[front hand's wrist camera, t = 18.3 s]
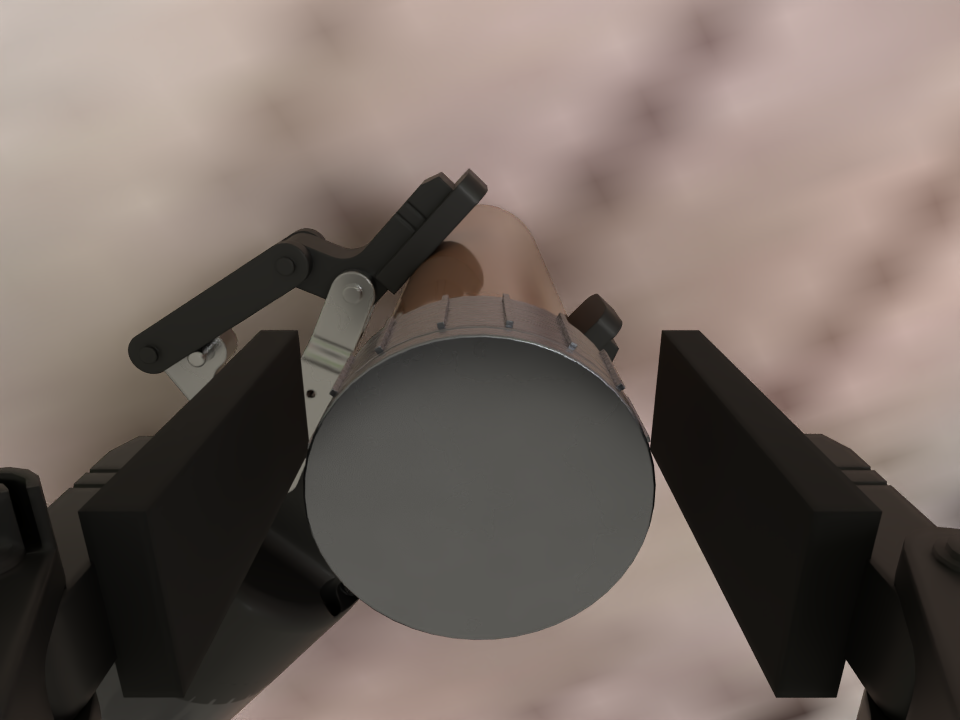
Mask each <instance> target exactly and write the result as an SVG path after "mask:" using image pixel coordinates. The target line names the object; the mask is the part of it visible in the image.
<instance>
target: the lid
mask: <svg viewBox="0 0 960 720" xmlns="http://www.w3.org/2000/svg"><path fill="white" fill-rule="evenodd" d="M623 389H625V386H624V384H623V382H622V380H621V378H620V377H619V375H618V373H617V371H616V369H615V367H614V365H613V363H612V362H611V360H610V358H609V356H608V354H607V352H606V351H605V350H604V349H603V350H601V351H599V350H598V349H597V348H596V346H595V345H594V344H593V343H592V342H591V341H590V340H589V339H588V338H587V337H586V336H585V335H584V334H583V333H581V332H580V331H579V330H578V329H577V328H575V327H574V326H572V325H571V324H570V323H568V321H567V319H566V316H565V315H564V314H562V313H559V314H558V316H557V315H555V314H553V313H551V312H549V311H547V310H545V309H543V308H540V307H537V306H535V305H532V304H529V303H526V302H522V301H518V300H514V299H510V296H509V294H504V293H503V296H502V297H494V296H462V297H456V298H450V299H449V295H444V296H442V300H440V301H437V302H433V303H430V304H427V305H423V306H421V307H419V308H416V309H414V310H412V311H410V312H407V313H405V314H403V315H402V316H400V317H398V318H397V319H395V318H394V317H393V316H392V317H390V318H388V320H387V322H386V324H385V326H384V327H383V328H382V329H381V330H380V331H379V332H377V333H376V334H375V335H374V336H372V338H371V339H370V340H369V341H368V342H367V343H366V344H365V345H364V346H363V347H362V348H361V349H360V350H359V352H358V353H357V355H356V356H353V355H350V356H349V358H348V359H347V361H346V363H345V365H344V367H343V368H342V370H341V372H340V374H339V376H338V378H337V380H336V381H335V383H334V385H333V387H332V389H331V391H330V393H329V394H330V395H331V396H333V397H332V399H331V401H330V403H329V404H328V406H327V408H326V410H325V411H324V413H323V415H322V417H321V419H320V421H319V423H318V425H317V427H316V429H315V431H314V432H313V434H312V436H311V438H310V440H309V442H308V445H307V449H308V452H307V456H306V462H305V468H304V475H303V497H304V504H305V511H306V516H307V520H308V523H309V526H310V530H311V533H312V536H313V538H314V540H315V542H316V545H317V547H318V549H319V551H320V553H321V555H322V556H323V558H324V559H325V561H326V562H327V564H328V566H329V567H330V569H331V570H332V571H333V573H334V574H335V575H336V576H337V577H338V578H339V580H340V581H341V582H342V583H343V584H344V585H345V586H346V587H347V588H348V589H349V590H350V591H351V592H352V593H353V594H354V595H355V596H357V597H358V598H359V599H360V600H361V601H363V602H364V603H366V604H367V605H368V606H370V607H371V608H373V609H374V610H375V611H377V612H379V613H381V614H383V615H384V616H386V617H388V618H390V619H392V620H393V621H396V622H398V623H401V624H403V625H405V626H408V627H410V628H413V629H416V630H419V631H423V632H426V633H429V634H433V635H438V636H444V637H449V638H457V639H470V640H487V639H501V638H509V637H516V636H520V635H525V634H529V633H533V632H537V631H540V630H542V629H545V628H548V627H551V626H554V625H556V624H558V623H560V622H562V621H565V620H567V619H569V618H571V617H573V616H575V615H576V614H578V613H579V612H581V611H583V610H584V609H586V608H587V607H589V606H591V605H592V604H593V603H594V602H596V601H597V600H598V599H599V598H601V597H602V596H603V595H604V594H606V593H607V592H608V591H609V590H610V589H611V588H612V587H613V586H614V585H615V584H616V582H617V581H618V580H619V579H620V578H621V577H622V576H623V575H624V573H625V572H626V570H627V569H628V568H629V566H630V565H631V564H632V562H633V561H634V559H635V557H636V555H637V554H638V552H639V550H640V548H641V546H642V544H643V542H644V539H645V537H646V534H647V531H648V529H649V526H650V522H651V518H652V513H653V509H654V502H655V487H656V484H655V472H654V463H653V459H652V455H651V451H650V447H649V444H648V442H650V438H649V435H648V433H647V431H646V430H645V428H644V426H643V424H642V422H641V420H640V418H639V416H638V414H637V412H636V411H635V409H634V407H633V405H632V403H631V401H630V399H629V397H626V395H625V393H624V392H623Z"/></svg>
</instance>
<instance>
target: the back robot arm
mask: <svg viewBox="0 0 960 720" xmlns="http://www.w3.org/2000/svg"><path fill="white" fill-rule="evenodd" d="M487 191H488V190H487V185H486V184H485V183H484V182H483V181H482V180H481V179H480V178H479V177H478V176H476V175H475V174H474V173H473V172H472V171H471V170H470V169H468V170H467V171H466V172H465V173H464V174H463V175H462V176H461V178H460V179H459V180H458V181H457V182H456V183H455V184H454V183H453V182H452V181H451V180H450V179H449V178H448V177H447V176H446V175H445V174H444V173H442V172H441V173H439V174H437V175H434V176H432V177H430V178H428V179H426V180H425V181H424V182H423V183H422V184H421V185H420V186H419V187H418V188H417V190H416V191H415V192H414V193H413V194H412V195H411V196H410V198H409V199H408V200H407V201H406V202H405V203H404V204H403V206H402V207H401V208H400V209H399V210H398V211H397V212H396V213H395V215H394V216H393V217H392V218H391V219H390V220H389V221H388V223H387V224H386V225H385V226H384V227H383V228H382V229H381V231H380V232H379V233H378V234H377V235H376V236H375V237H374V238H373V240H372V241H371V242H370V243H368V244H367V245H366V246H363V247H361V248H357V249H348V248H344V247H341V246H338V245H336V244H333V243H331V242H329V241H326V240H325V238H324V237H323V236H322V235H321V234H320V233H319V232H317V231H315V230H313V229H308V228H304V229H300V230H298V231H296V232H294V233H293V234H291V235H290V236H288V237H287V238H285V239H283V240H282V241H280V242H279V243H277V244H275V245H274V246H272V247H271V248H269V249H268V250H266V251H265V252H263V253H262V254H260V255H259V256H257V257H255V258H254V259H252V260H251V261H249V262H248V263H246V264H245V265H243V266H242V267H240V268H239V269H237V270H236V271H234V272H233V273H231V274H230V275H228V276H227V277H225V278H224V279H222V280H221V281H219V282H217V283H216V284H214V285H213V286H211V287H210V288H208V289H207V290H205V291H204V292H202V293H201V294H199V295H198V296H196V297H195V298H193V299H192V300H190V301H189V302H187V303H186V304H184V305H183V306H181V307H179V308H178V309H176V310H175V311H173V312H172V313H170V314H169V315H167V316H166V317H164V318H163V319H161V320H160V321H158V322H157V323H155V324H154V325H152V326H151V327H149V328H148V329H146V330H144V331H143V332H141V333H140V334H138V335H137V336H135V337H134V338H133V339H132V340H131V342H130V344H129V347H128V353H129V357H130V359H131V361H132V363H133V364H134V365H135V366H136V367H137V368H138V369H140V370H141V371H143V372H146V373H150V374H157V373H161V372H163V371H165V372H166V374H167V375H168V376H169V377H170V378H171V379H172V381H173V382H174V383H175V384H176V385H177V387H178V388H179V389H180V390H181V391H182V393H183V394H184V395H185V396H186V397H187V399H188V400H189V401H190V400H191V399H192V398H193V397H194V396H195V395H196V394H197V393H198V392H199V391H200V390H201V389H202V388H203V387H204V386H205V385H206V384H207V383H208V382H209V381H210V380H211V379H212V378H213V377H214V376H215V375H216V374H217V373H218V372H219V371H220V370H221V369H222V368H223V367H224V366H225V364H226V361H227V360H228V359H229V358H230V357H231V356H232V355H233V354H234V352H235V351H236V349H237V337H236V335H235V333H234V332H233V330H232V329H231V328H232V327H234V326H236V325H237V324H239V323H240V322H242V321H243V320H245V319H247V318H248V317H250V316H251V315H253V314H254V313H256V312H257V311H259V310H261V309H262V308H264V307H265V306H267V305H268V304H270V303H272V302H273V301H275V300H276V299H278V298H279V297H281V296H283V295H284V294H286V293H287V292H289V291H290V290H292V289H294V288H295V287H297V288H299V289H302V290H304V291H307V292H309V293H312V294H314V295H317V296H319V297H322V298H324V299H326V301H325V303H324V306H323V309H322V311H321V314H320V316H319V319H318V321H317V324H316V327H315V329H314V332H313V334H312V337H311V339H310V341H309V343H308V345H307V347H306V349H305V351H304V353H303V355H302V357H301V365H302V375H303V385H304V395H305V405H306V415H307V425H308V435H309V440H310V438H311V436H312V434H313V432H314V431H315V429H316V427H317V425H318V423H319V421H320V419H321V417H322V415H323V413H324V411H325V410H326V408H327V406H328V404H329V403H330V401H331V399H332V397H333V396H331V395H330V394H329V393H330V391H331V389H332V387H333V385H334V383H335V381H336V380H337V378H338V376H339V374H340V372H341V370H342V368H343V367H344V365H345V363H346V361H347V359H348V358H349V356H350V355H353V356H355V355H356V352H357V350H358V347H359V345H360V343H361V340H362V338H363V335H364V333H365V330H366V327H367V325H368V322H369V320H370V317H371V315H372V313H373V310H374V308H375V305H376V303H377V301H378V300H379V299H380V298H381V297H382V296H383V295H384V294H385V292H386V291H387V290H390V291H391V292H392V293H393V294H395V293H396V292H397V291H398V290H399V289H400V288H401V287H402V285H403V284H404V283H405V282H406V281H407V280H408V279H409V278H410V277H411V276H412V274H413V273H414V272H415V271H416V270H417V269H418V268H419V267H420V265H421V264H422V263H424V261H425V260H426V259H427V258H428V257H429V256H430V255H431V254H432V253H433V252H434V251H435V249H436V248H437V247H438V246H439V245H440V244H441V243H442V242H443V241H444V240H445V239H446V237H447V236H448V235H449V234H450V233H451V232H452V231H453V230H454V229H455V228H456V227H457V226H458V224H459V223H460V222H461V221H462V220H463V219H464V218H465V217H466V216H467V215H468V214H469V212H470V211H471V210H472V209H473V208H474V207H475V206H476V205H477V204H478V203H479V201H480V200H481V199H482V198H483V197H484V195H485V194H486V193H487ZM568 319H569V321H570V323H571V325H572V326H574V327H575V328H577V329H578V330H579V331H580V332H581V333H583V334H584V335H585V336H586V337H587V338H588V339H589V340H590V341H591V342H592V343H593V344H594V345H595V346H596V348H597V349H598V350H599V351H601V350H603V349H604V350H605V351H606V352H607V354H608V356H609V358H610V360H611V362H612V361H613V359H614V357H615V355H616V353H617V351H618V349H619V348H618V346H617V345H616V343H615V341H614V339H613V338H614V337H615V336H616V335H617V333H618V332H619V331H620V329H621V327H622V321H621V319H620V318H619V316H618V315H617V314H616V312H615V311H614V309H613V308H612V307H611V306H610V305H609V304H607V303H606V302H605V301H604V300H603V299H602V298H601V297H600V296H599V295H598V294H594V295H592V296H590V297H589V298H588V299H586V300H585V301H584V302H583V303H582V304H581V305H580V306H579V307H578V308H577V309H576V310H575V311H574V312H573V313H572V314H571V315H570V316H569V317H568ZM305 462H306V458H305V460H304V462H303V464H302V466H301V468H300V470H299V472H298V474H297V476H296V478H295V480H294V482H293V484H292V486H291V488H290V490H289V491H288V493H287V495H286V497H285V499H284V501H283V503H282V505H281V507H280V509H279V511H278V513H277V515H276V517H275V519H274V521H273V523H272V525H271V527H270V529H269V531H268V533H267V535H266V537H265V539H264V541H263V543H262V545H261V547H260V549H259V551H258V553H257V555H256V557H255V558H254V560H253V562H252V564H251V566H250V568H249V570H248V572H247V574H246V576H245V578H244V580H243V582H242V584H241V586H240V588H239V590H238V592H237V594H236V596H235V598H234V600H233V602H232V604H231V606H230V608H229V610H228V612H227V614H226V616H225V618H224V620H223V622H222V624H221V625H220V627H219V629H218V631H217V633H216V635H215V637H214V639H213V641H212V643H211V645H210V647H209V649H208V651H207V653H206V655H205V657H204V659H203V661H202V663H201V665H200V667H199V669H198V671H197V673H196V675H195V677H194V679H193V681H192V683H191V685H190V687H189V689H188V691H187V692H186V694H185V696H184V698H124V697H123V693H122V689H121V685H120V681H119V677H118V673H117V669H116V665H115V662H114V664H113V665H112V667H111V668H110V670H109V671H108V673H107V674H106V676H105V677H104V679H103V680H102V682H101V683H100V685H99V686H98V688H97V689H96V693H97V697H98V701H99V704H100V710H101V718H102V720H231V719H232V718H233V717H234V716H235V715H236V714H237V713H238V712H239V711H241V710H242V709H243V708H244V707H245V706H246V705H247V704H248V703H249V702H250V701H251V700H252V699H254V698H255V697H256V696H257V695H258V694H259V693H260V692H261V691H262V690H263V689H264V688H265V687H267V686H268V685H269V684H270V683H271V682H272V681H273V680H274V679H275V678H277V677H278V676H279V675H280V674H281V673H282V672H283V671H284V670H285V669H286V668H287V667H288V666H289V665H290V664H292V663H293V662H294V661H295V660H296V659H297V658H298V657H299V656H300V655H301V654H302V653H303V652H305V651H306V650H307V649H308V648H309V647H310V646H311V645H312V644H313V643H314V642H315V641H316V640H318V639H319V638H320V637H321V636H322V635H323V634H324V633H325V632H326V631H327V630H328V629H329V628H331V627H332V626H333V625H334V624H335V623H336V622H337V621H338V620H339V619H340V618H341V617H342V616H343V615H345V614H346V613H347V612H348V610H349V609H350V608H351V607H352V606H353V605H354V604H355V603H356V602H357V601H358V600H359V598H358V597H357V596H355V595H354V594H353V593H352V592H351V591H350V590H349V589H348V588H347V587H346V586H345V585H344V584H343V583H342V582H341V581H340V580H339V578H338V577H337V576H336V575H335V574H334V573H333V571H332V570H331V569H330V567H329V566H328V564H327V562H326V561H325V559H324V558H323V556H322V555H321V553H320V551H319V549H318V547H317V545H316V542H315V540H314V538H313V536H312V533H311V530H310V526H309V523H308V520H307V516H306V511H305V504H304V497H303V475H304V468H305Z"/></svg>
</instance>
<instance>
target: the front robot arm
mask: <svg viewBox="0 0 960 720" xmlns="http://www.w3.org/2000/svg"><path fill="white" fill-rule="evenodd" d="M308 442H309V435H308V425H307V415H306V405H305V395H304V385H303V375H302V365H301V355H300V345H299V335H298V330H261V331H260V332H259V333H258V334H257V335H256V336H255V337H254V338H253V339H252V340H251V341H250V342H249V343H248V344H247V345H246V346H245V347H244V348H243V349H242V350H241V351H240V352H239V353H237V354H236V355H235V356H234V357H233V358H232V359H231V360H230V361H229V362H228V363H227V364H226V365H225V366H224V367H223V368H222V369H221V370H220V371H219V372H218V373H217V374H216V375H215V376H214V377H213V378H212V379H211V380H210V381H209V382H208V383H207V384H206V385H205V386H204V387H203V388H202V389H201V390H200V391H199V392H198V393H197V394H196V395H195V396H194V397H193V398H192V399H191V400H190V401H189V402H188V403H187V404H186V405H185V406H184V407H183V408H182V409H181V410H180V411H179V412H178V413H177V414H176V415H175V416H174V417H173V418H172V419H171V420H170V421H169V422H168V423H167V424H166V425H165V426H164V427H163V428H162V429H161V430H159V431H158V432H157V433H156V434H155V435H154V436H139V437H137V438H135V439H133V440H131V441H129V442H127V443H125V444H123V445H121V446H119V447H117V448H115V449H113V450H111V451H110V452H108V453H107V454H106V455H105V456H104V457H103V458H102V459H101V460H100V461H99V462H97V463H96V464H95V465H94V466H93V467H92V468H91V469H90V473H85V474H84V475H83V476H82V477H81V478H80V479H79V480H78V481H77V482H75V483H74V487H73V488H69V489H68V490H67V491H66V492H65V493H63V494H62V495H61V496H60V497H59V498H58V499H57V500H56V501H55V502H54V503H52V504H51V505H50V506H49V507H48V508H47V505H46V501H45V497H44V494H43V490H42V486H41V482H40V478H39V476H38V475H36V474H35V473H33V472H32V471H30V470H28V469H20V468H12V467H6V468H0V720H102V718H101V710H100V704H99V701H98V697H97V693H96V689H97V688H98V686H99V685H100V683H101V682H102V680H103V679H104V677H105V676H106V674H107V673H108V671H109V670H110V668H111V667H112V665H113V664H114V662H115V665H116V669H117V673H118V677H119V681H120V685H121V689H122V693H123V697H124V698H184V696H185V694H186V692H187V691H188V689H189V687H190V685H191V683H192V681H193V679H194V677H195V675H196V673H197V671H198V669H199V667H200V665H201V663H202V661H203V659H204V657H205V655H206V653H207V651H208V649H209V647H210V645H211V643H212V641H213V639H214V637H215V635H216V633H217V631H218V629H219V627H220V625H221V624H222V622H223V620H224V618H225V616H226V614H227V612H228V610H229V608H230V606H231V604H232V602H233V600H234V598H235V596H236V594H237V592H238V590H239V588H240V586H241V584H242V582H243V580H244V578H245V576H246V574H247V572H248V570H249V568H250V566H251V564H252V562H253V560H254V558H255V557H256V555H257V553H258V551H259V549H260V547H261V545H262V543H263V541H264V539H265V537H266V535H267V533H268V531H269V529H270V527H271V525H272V523H273V521H274V519H275V517H276V515H277V513H278V511H279V509H280V507H281V505H282V503H283V501H284V499H285V497H286V495H287V493H288V491H289V490H290V488H291V486H292V484H293V482H294V480H295V478H296V476H297V474H298V472H299V470H300V468H301V466H302V464H303V462H304V460H305V458H306V456H307V452H308V449H307V445H308ZM650 450H651V452H652V454H653V456H654V458H655V460H656V462H657V464H658V466H659V468H660V470H661V472H662V474H663V476H664V478H665V480H666V482H667V484H668V486H669V488H670V490H671V492H672V493H673V495H674V497H675V499H676V501H677V503H678V505H679V507H680V509H681V511H682V513H683V515H684V517H685V519H686V521H687V523H688V525H689V527H690V529H691V531H692V533H693V535H694V537H695V539H696V541H697V543H698V545H699V547H700V549H701V551H702V553H703V555H704V557H705V558H706V560H707V562H708V564H709V566H710V568H711V570H712V572H713V574H714V576H715V578H716V580H717V582H718V584H719V586H720V588H721V590H722V592H723V594H724V596H725V598H726V600H727V602H728V604H729V606H730V608H731V610H732V612H733V614H734V616H735V618H736V620H737V622H738V624H739V625H740V627H741V629H742V631H743V633H744V635H745V637H746V639H747V641H748V643H749V645H750V647H751V649H752V651H753V653H754V655H755V657H756V659H757V661H758V663H759V665H760V667H761V669H762V671H763V673H764V675H765V677H766V679H767V681H768V683H769V685H770V687H771V689H772V691H773V692H774V694H775V696H776V698H836V697H837V693H838V689H839V685H840V681H841V677H842V673H843V669H844V665H845V661H846V660H847V662H848V663H849V665H850V666H851V668H852V669H853V671H854V672H855V674H856V675H857V677H858V678H859V680H860V681H861V683H862V684H863V686H864V687H865V689H864V693H863V697H862V701H861V704H860V708H859V712H858V716H857V719H856V720H960V529H954V528H943V527H937V526H936V525H934V524H933V523H932V522H931V521H930V520H929V519H928V518H927V517H926V516H924V515H923V514H922V513H921V512H920V511H919V510H918V509H917V508H916V507H915V506H913V505H912V504H911V503H910V502H909V501H908V500H907V499H906V498H905V497H903V496H902V495H901V494H900V493H899V492H898V491H897V490H896V489H895V488H893V487H892V486H891V485H887V481H886V480H885V479H883V478H882V477H881V476H880V475H879V474H878V473H877V472H876V471H875V470H871V469H870V466H869V465H868V464H867V463H866V462H865V461H864V460H862V459H861V458H860V457H859V456H858V455H857V454H856V453H855V452H854V451H852V450H851V449H850V448H848V447H846V446H844V445H842V444H840V443H838V442H836V441H834V440H832V439H830V438H828V437H826V436H824V435H822V434H804V433H803V432H802V431H801V430H799V429H798V428H797V427H796V426H795V425H794V424H793V423H792V422H791V421H790V420H789V419H788V418H787V417H786V416H785V415H784V414H783V413H782V412H781V411H780V410H779V409H778V408H777V407H776V406H775V405H774V404H773V403H772V402H771V401H770V400H769V399H768V398H767V397H766V396H765V395H764V394H763V393H762V392H761V391H760V390H759V389H758V388H757V387H756V386H755V385H754V384H753V383H752V382H751V381H750V380H749V379H748V378H747V377H746V376H745V375H744V374H743V373H742V372H741V371H740V370H739V369H738V368H737V367H736V366H735V365H734V364H733V363H732V362H731V361H730V360H729V359H728V358H727V357H726V356H725V355H724V354H722V353H721V352H720V351H719V350H718V349H717V348H716V347H715V346H714V345H713V344H712V343H711V342H710V341H709V340H708V339H707V338H706V337H705V336H704V335H703V334H702V333H701V332H700V331H699V330H662V335H661V345H660V355H659V365H658V375H657V385H656V395H655V405H654V415H653V425H652V435H651V445H650Z"/></svg>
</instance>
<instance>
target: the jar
mask: <svg viewBox="0 0 960 720" xmlns="http://www.w3.org/2000/svg"><path fill="white" fill-rule="evenodd" d="M503 293H504V294H509V296H510V299H514V300H518V301H522V302H526V303H529V304H532V305H535V306H537V307H540V308H543V309H545V310H547V311H549V312H551V313H553V314H555V315H557V316H558V314H559V313H562V314H564V315H565V316H566V319H567V321H568V323H570V321H569V319H568V317H567V314H566V312H565V310H564V307H563V305H562V303H561V300H560V298H559V296H558V293H557V291H556V289H555V287H554V284H553V282H552V280H551V277H550V275H549V273H548V270H547V268H546V266H545V264H544V261H543V259H542V257H541V254H540V252H539V250H538V247H537V245H536V243H535V241H534V238H533V237H532V235H531V233H530V231H529V230H528V229H527V227H526V226H525V225H524V224H523V223H522V222H521V221H520V220H519V219H518V218H517V217H515V216H514V215H513V214H511V213H509V212H508V211H506V210H503V209H501V208H498V207H494V206H490V205H476V206H475V207H474V208H473V209H472V210H471V211H470V212H469V214H468V215H467V216H466V217H465V218H464V219H463V220H462V221H461V222H460V223H459V224H458V226H457V227H456V228H455V229H454V230H453V231H452V232H451V233H450V234H449V235H448V236H447V237H446V239H445V240H444V241H443V242H442V243H441V244H440V245H439V246H438V247H437V248H436V249H435V251H434V252H433V253H432V254H431V255H430V256H429V257H428V258H427V259H426V260H425V261H424V263H422V264H421V265H420V267H419V268H418V269H417V270H416V271H415V272H414V273H413V274H412V276H411V277H410V278H409V279H408V280H407V282H406V284H405V286H404V289H403V291H402V293H401V296H400V298H399V300H398V302H397V305H396V307H395V309H394V312H393V314H392V316H393V317H394V318H395V319H397V318H398V317H400V316H402V315H403V314H405V313H407V312H410V311H412V310H414V309H416V308H419V307H421V306H423V305H427V304H430V303H433V302H437V301H440V300H442V296H444V295H449V299H450V298H456V297H462V296H494V297H502V296H503ZM392 316H391V317H392ZM570 324H571V323H570Z"/></svg>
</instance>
